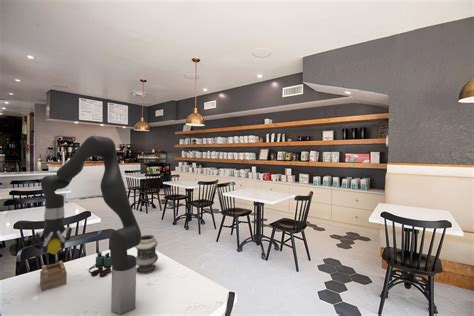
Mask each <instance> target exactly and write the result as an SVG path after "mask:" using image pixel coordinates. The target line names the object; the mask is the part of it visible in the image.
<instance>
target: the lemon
mask: <svg viewBox="0 0 474 316" xmlns="http://www.w3.org/2000/svg"><path fill="white" fill-rule="evenodd" d="M59 251H61V239H60V238H58V237H57V238H52V239H50V240H49V241H48V243H47V253H48V254H51V255H56V253H58V252H59Z"/></svg>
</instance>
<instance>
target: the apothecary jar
mask: <svg viewBox="0 0 474 316" xmlns="http://www.w3.org/2000/svg"><path fill="white" fill-rule="evenodd" d="M158 243H159V242H158V240H157V239H156V236H155V235H154V234H143V235H141V242H140V244H139V245H137V246H135V247H134V248H135V249H136V252H137V253H136V256H135V257H136V266H138V267H136V273H139V274H149V273H152V272H153V271H155V270H156V268H157V267H156V265H155V264H156V262H157V261H158V259H159V256H158V254H157V253H156V252H157V251H156V247H157V246H158Z"/></svg>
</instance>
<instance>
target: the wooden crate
mask: <svg viewBox="0 0 474 316" xmlns="http://www.w3.org/2000/svg"><path fill="white" fill-rule="evenodd" d="M67 273H68V272H67V269H66V266H65V264H64V262H63V260H60V261H58V262H56V263H52V264H49V265H46V264H44V265H41V270H40V273H39V274H40V275H39V277H40V278H39V280H40V282H39V283H40V288H41V292H42V293H43V292H46V291H49V290H52V289H55V288H59V287H62V286H66V285H67V283H68V282H67V277H68V275H67Z"/></svg>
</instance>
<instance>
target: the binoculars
mask: <svg viewBox="0 0 474 316" xmlns="http://www.w3.org/2000/svg"><path fill="white" fill-rule="evenodd" d="M102 254H103V253H102V252H101V251H97V256H96V257H95V264H93V266H90V267H89V268H88V273H89V274H91V275H90V276H91V277H97V276H99V277H100V278H103V277H105V276H107V274H108V273H110V272H112V263H111V259H110V252H106V253H105V254H104V255H102ZM93 269H94V270H93ZM91 270H93V271H91Z"/></svg>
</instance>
